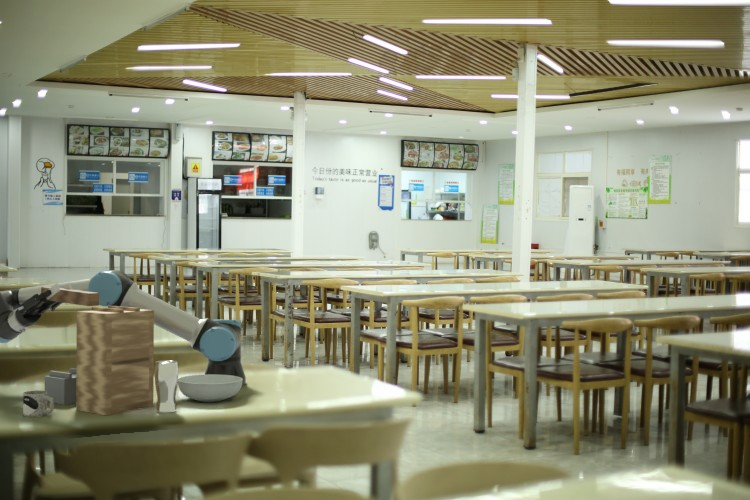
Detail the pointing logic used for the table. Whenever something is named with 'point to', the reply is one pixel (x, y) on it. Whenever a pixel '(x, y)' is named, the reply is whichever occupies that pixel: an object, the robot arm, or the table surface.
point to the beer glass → (166, 385)
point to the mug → (36, 403)
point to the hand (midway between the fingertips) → (64, 287)
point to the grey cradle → (61, 386)
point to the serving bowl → (210, 387)
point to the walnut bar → (74, 297)
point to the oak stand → (114, 359)
